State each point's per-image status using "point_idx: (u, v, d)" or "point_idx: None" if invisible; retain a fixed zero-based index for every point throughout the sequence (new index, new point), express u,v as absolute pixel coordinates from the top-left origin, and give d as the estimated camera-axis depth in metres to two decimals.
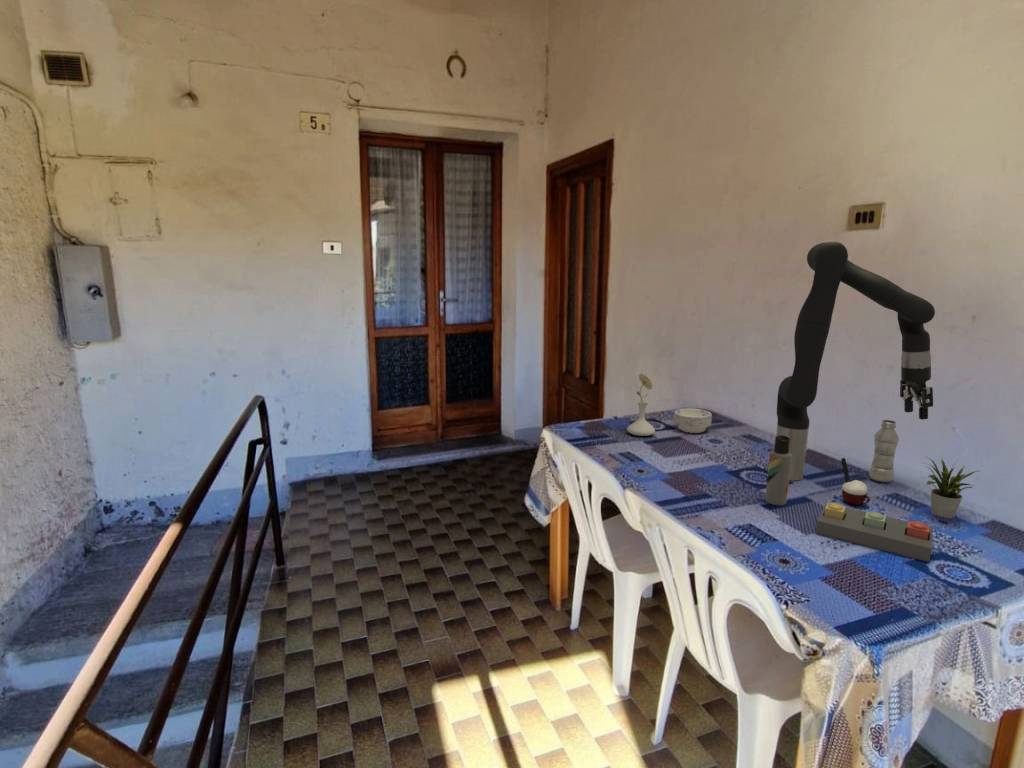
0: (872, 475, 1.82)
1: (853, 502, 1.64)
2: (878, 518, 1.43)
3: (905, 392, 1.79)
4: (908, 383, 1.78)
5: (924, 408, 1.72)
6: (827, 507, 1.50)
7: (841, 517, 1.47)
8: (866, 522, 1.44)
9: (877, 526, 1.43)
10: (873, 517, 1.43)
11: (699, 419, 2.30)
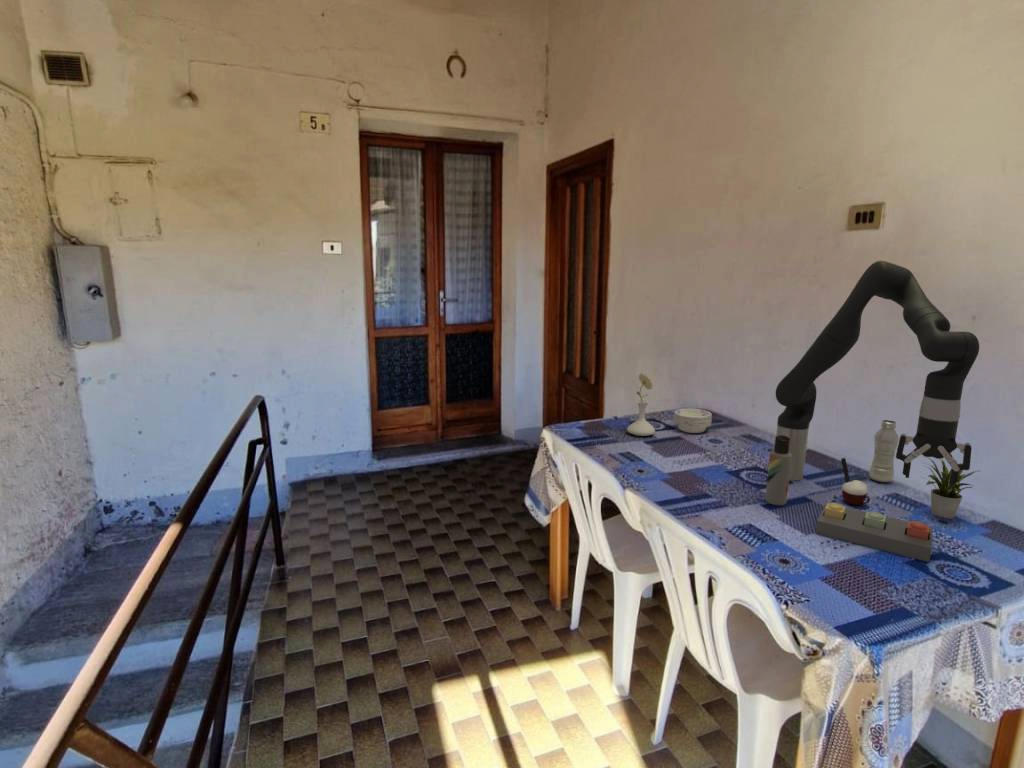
0: (872, 475, 1.82)
1: (853, 502, 1.64)
2: (878, 518, 1.43)
3: None
4: None
5: (903, 461, 1.39)
6: (827, 507, 1.50)
7: (841, 517, 1.47)
8: (866, 522, 1.44)
9: (877, 526, 1.43)
10: (873, 517, 1.43)
11: (699, 419, 2.30)
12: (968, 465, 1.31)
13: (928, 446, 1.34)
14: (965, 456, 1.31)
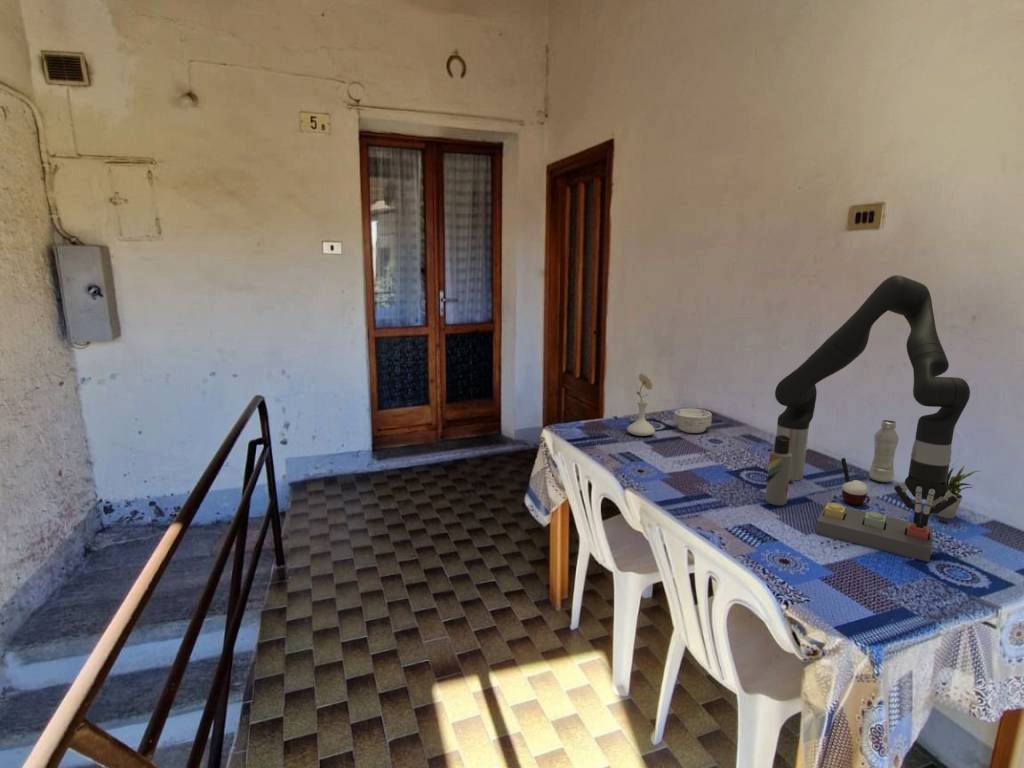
0: (872, 475, 1.82)
1: (853, 502, 1.64)
2: (878, 518, 1.43)
3: None
4: None
5: None
6: (827, 507, 1.50)
7: (841, 517, 1.47)
8: (866, 522, 1.44)
9: (877, 526, 1.43)
10: (873, 517, 1.43)
11: (699, 419, 2.30)
12: (939, 511, 1.35)
13: (919, 488, 1.36)
14: (944, 503, 1.34)
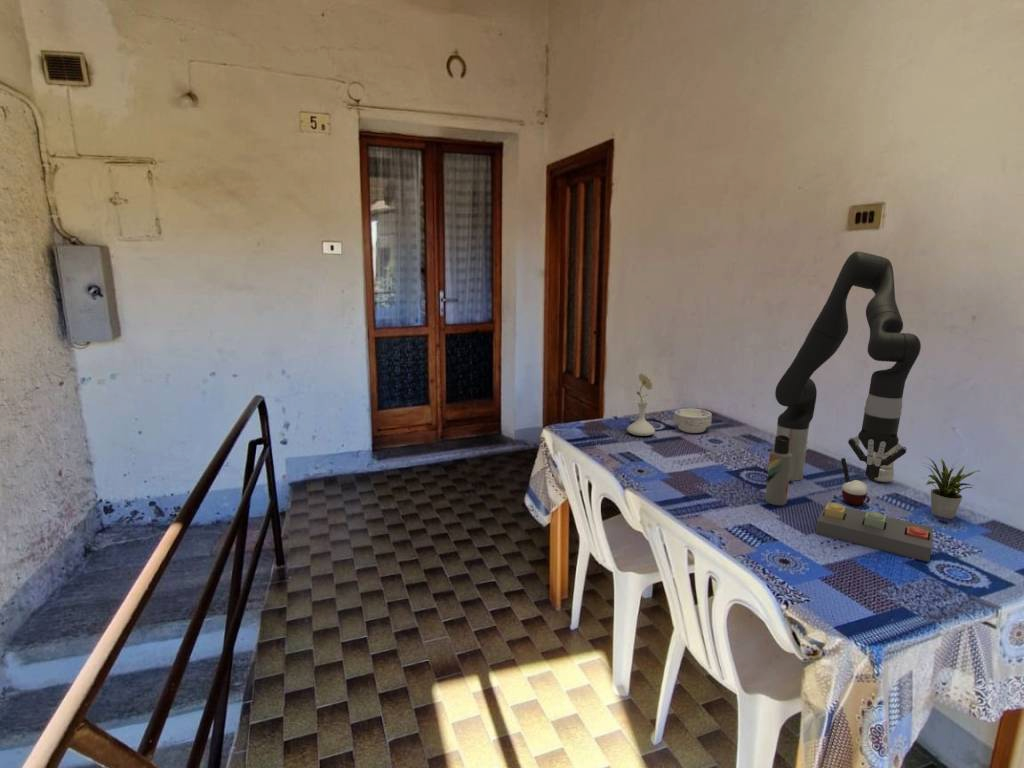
0: None
1: (853, 502, 1.64)
2: (878, 518, 1.43)
3: None
4: None
5: None
6: (827, 507, 1.50)
7: (841, 517, 1.47)
8: (866, 522, 1.44)
9: (877, 526, 1.43)
10: (873, 517, 1.43)
11: (699, 419, 2.30)
12: (889, 462, 1.40)
13: (871, 441, 1.41)
14: (894, 455, 1.39)
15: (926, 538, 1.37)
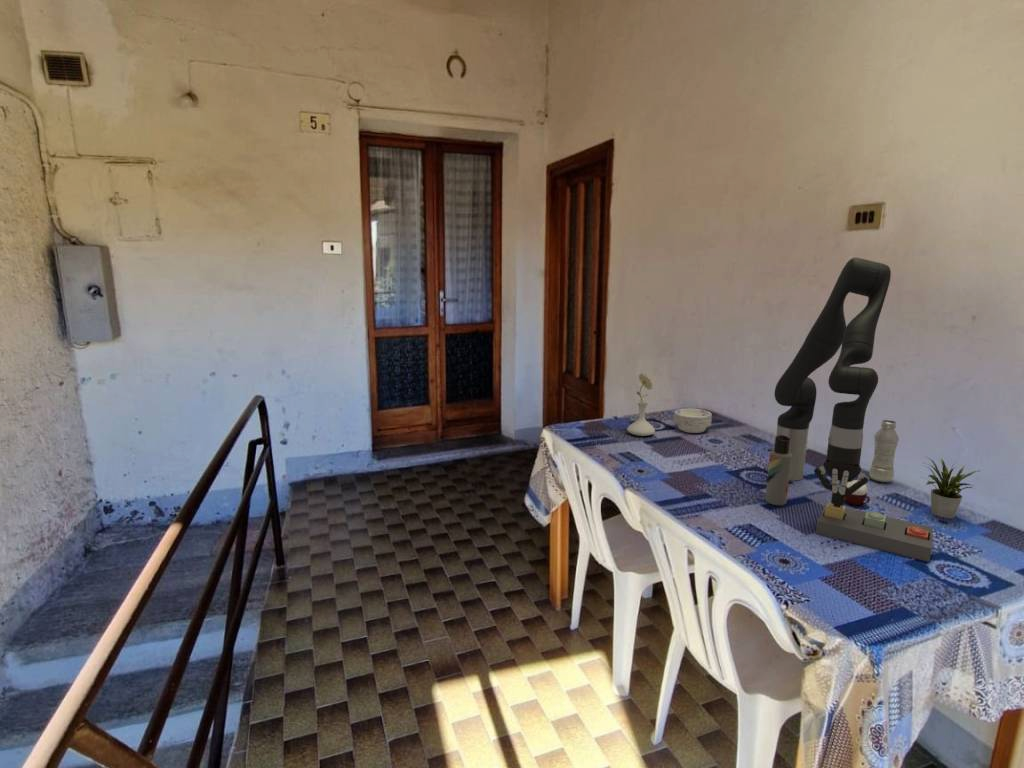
0: (872, 475, 1.82)
1: (853, 502, 1.64)
2: (878, 518, 1.43)
3: None
4: None
5: None
6: (827, 507, 1.50)
7: (841, 517, 1.47)
8: (866, 522, 1.44)
9: (877, 526, 1.43)
10: (873, 517, 1.43)
11: (699, 419, 2.30)
12: (853, 491, 1.45)
13: (835, 470, 1.46)
14: (857, 484, 1.45)
15: (926, 538, 1.37)
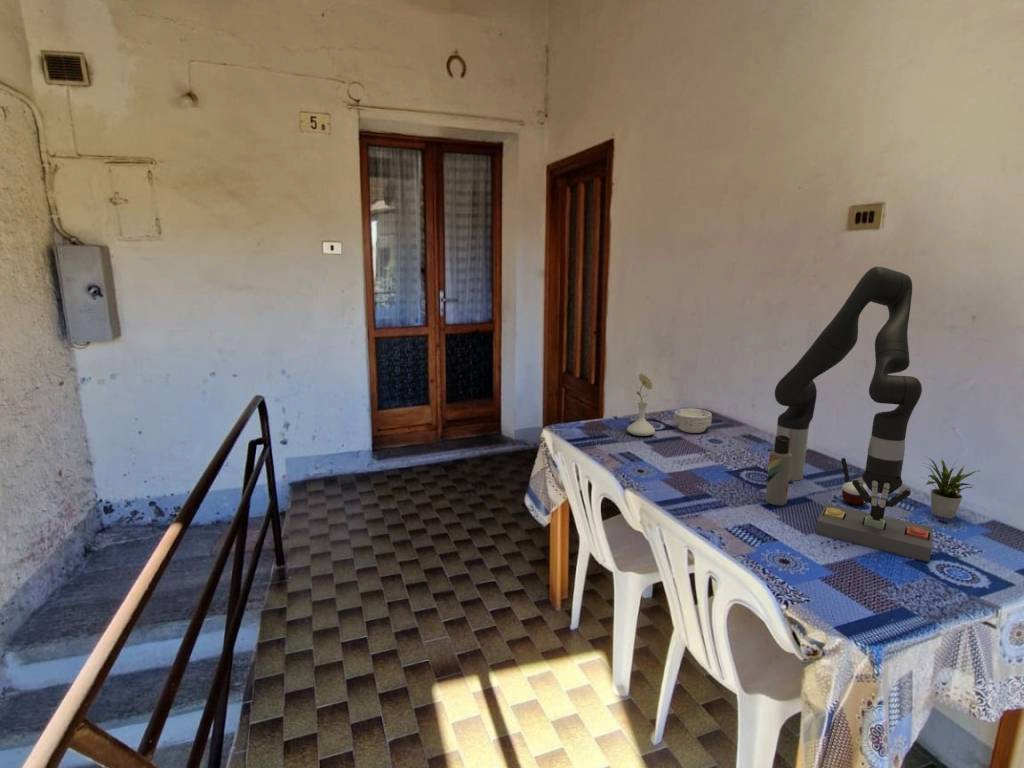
0: None
1: (853, 502, 1.64)
2: (877, 523, 1.43)
3: None
4: None
5: None
6: (826, 512, 1.50)
7: None
8: None
9: None
10: (872, 522, 1.43)
11: (699, 419, 2.30)
12: (894, 504, 1.40)
13: (875, 482, 1.41)
14: (898, 497, 1.40)
15: (926, 538, 1.37)
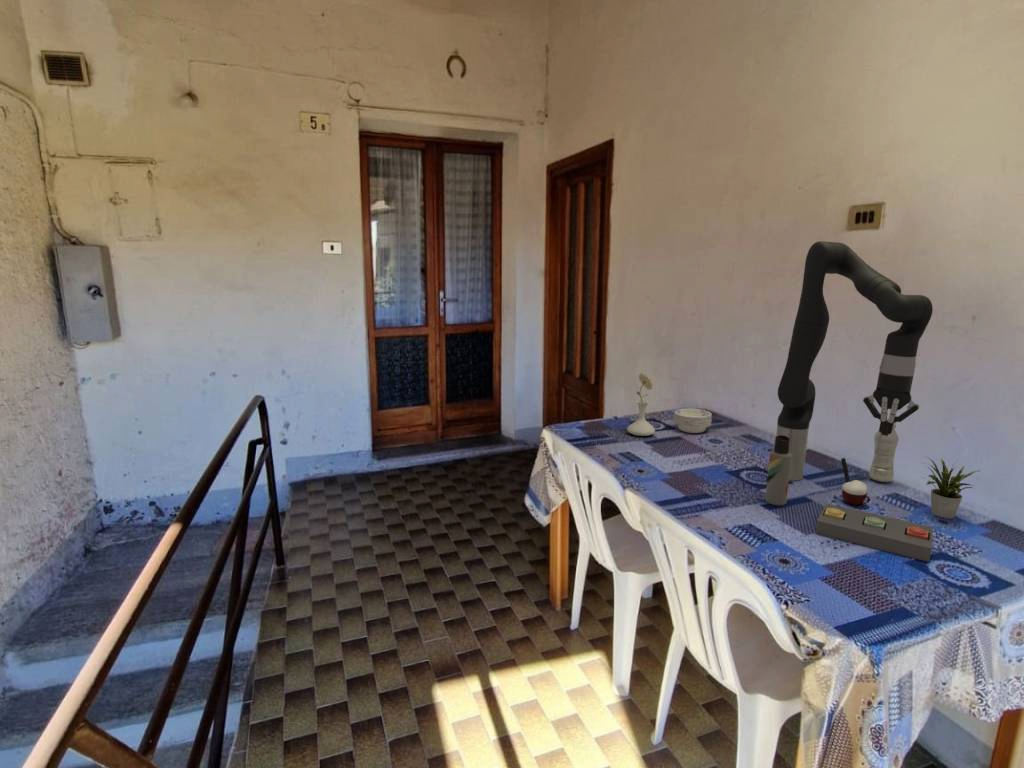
0: (872, 475, 1.82)
1: (853, 502, 1.64)
2: (877, 523, 1.43)
3: None
4: None
5: None
6: (826, 512, 1.50)
7: None
8: None
9: None
10: (872, 522, 1.43)
11: (699, 419, 2.30)
12: (902, 419, 1.48)
13: (885, 398, 1.49)
14: (907, 412, 1.47)
15: (926, 538, 1.37)
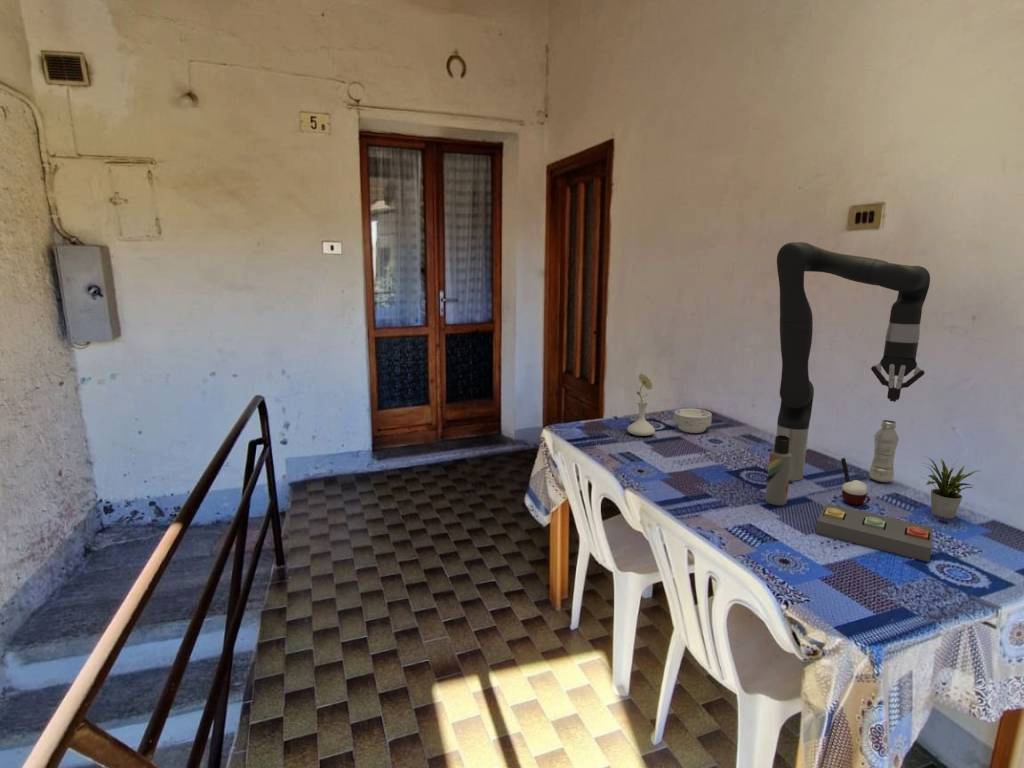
0: (872, 475, 1.82)
1: (853, 502, 1.64)
2: (877, 523, 1.43)
3: None
4: None
5: None
6: (826, 512, 1.50)
7: None
8: None
9: None
10: (872, 522, 1.43)
11: (699, 419, 2.30)
12: (909, 384, 1.55)
13: (892, 365, 1.56)
14: (913, 377, 1.54)
15: (926, 538, 1.37)
